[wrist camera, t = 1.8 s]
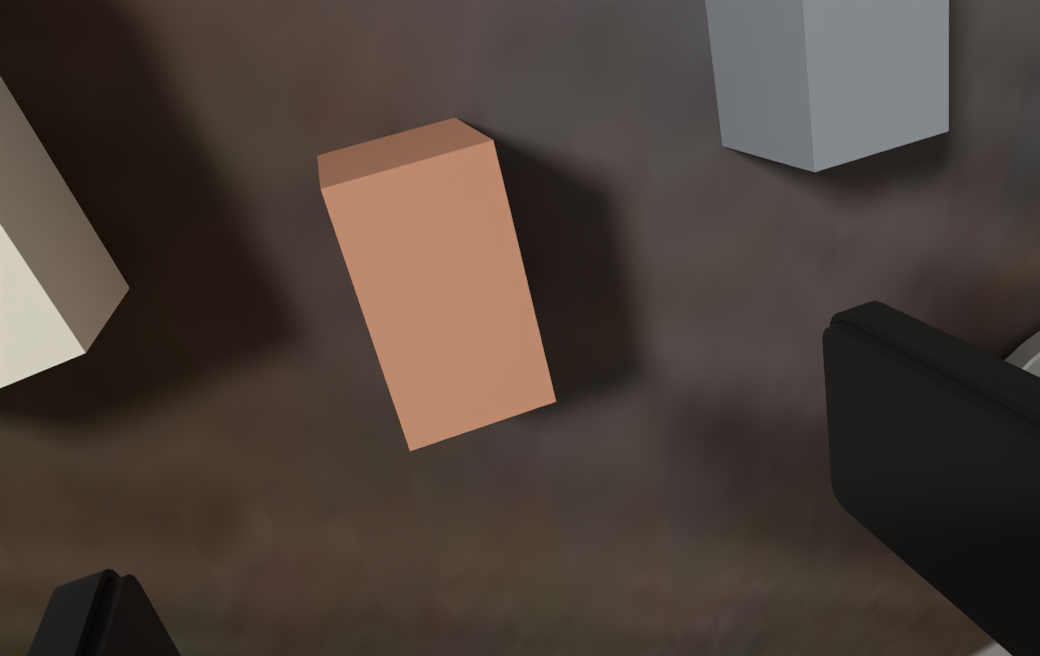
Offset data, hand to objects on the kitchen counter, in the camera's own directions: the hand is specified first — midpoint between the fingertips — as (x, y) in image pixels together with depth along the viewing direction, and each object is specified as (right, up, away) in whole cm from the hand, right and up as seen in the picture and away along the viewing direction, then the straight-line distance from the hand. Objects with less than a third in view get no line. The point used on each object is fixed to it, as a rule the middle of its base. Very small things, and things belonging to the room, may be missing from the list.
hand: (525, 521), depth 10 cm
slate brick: (+7, +12, +13) cm, 19 cm away
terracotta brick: (-3, +5, +13) cm, 14 cm away
